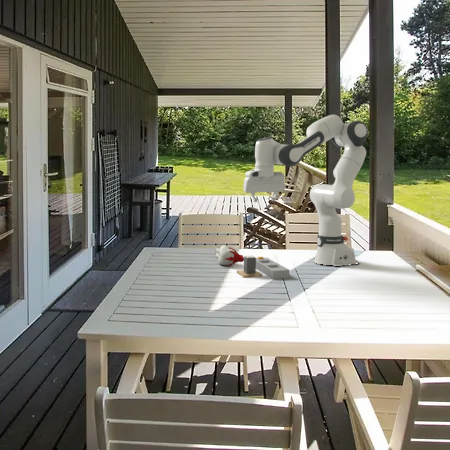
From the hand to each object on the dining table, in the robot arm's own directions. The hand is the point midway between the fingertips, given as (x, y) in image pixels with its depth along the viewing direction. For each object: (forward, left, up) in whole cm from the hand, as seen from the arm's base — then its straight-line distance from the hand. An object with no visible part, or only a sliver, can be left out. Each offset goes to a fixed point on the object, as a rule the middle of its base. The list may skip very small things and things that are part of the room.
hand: (264, 201), depth 258 cm
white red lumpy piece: (+15, -6, -32) cm, 36 cm away
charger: (+12, +15, -30) cm, 36 cm away
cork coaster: (+12, +15, -31) cm, 37 cm away
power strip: (+1, +9, -31) cm, 33 cm away
